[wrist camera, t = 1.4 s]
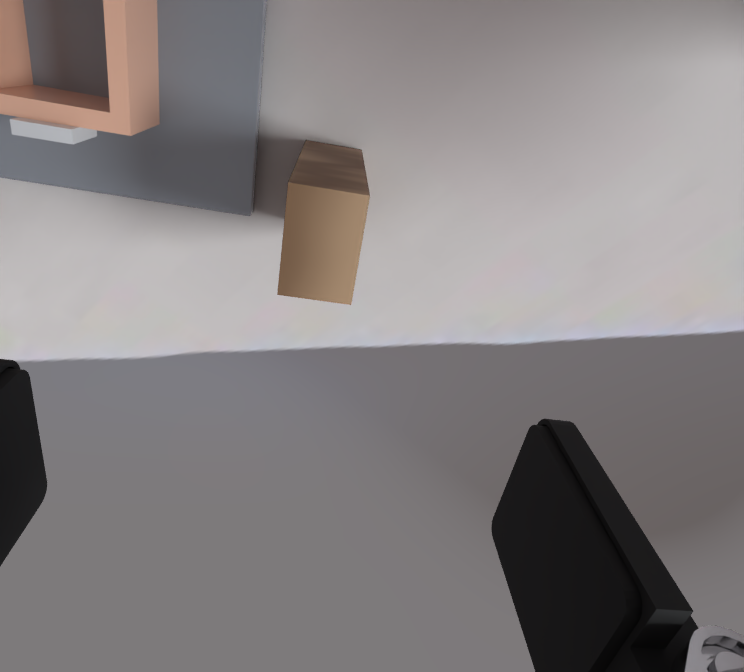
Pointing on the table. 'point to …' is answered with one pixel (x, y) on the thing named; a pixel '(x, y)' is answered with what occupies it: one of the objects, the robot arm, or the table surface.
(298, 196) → the wooden rectangular block
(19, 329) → the table surface
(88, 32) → the square base with socket
